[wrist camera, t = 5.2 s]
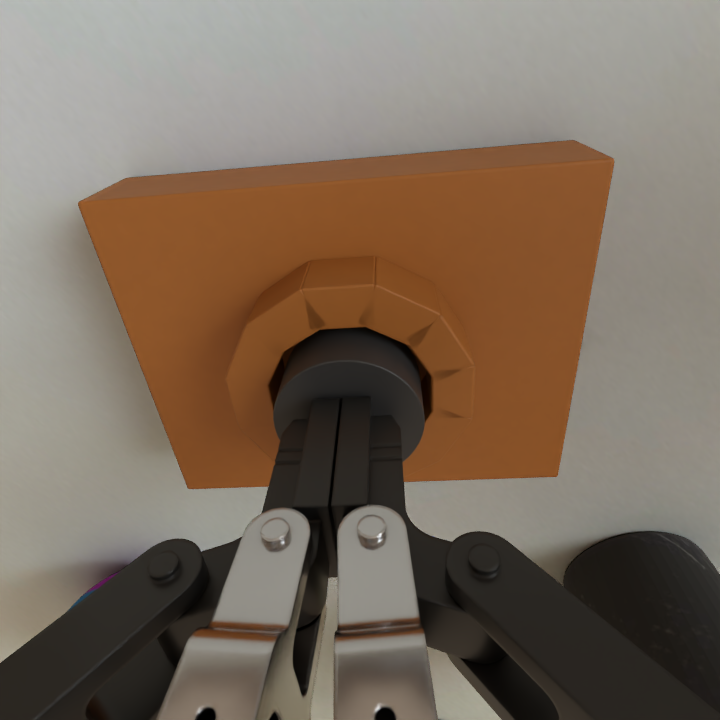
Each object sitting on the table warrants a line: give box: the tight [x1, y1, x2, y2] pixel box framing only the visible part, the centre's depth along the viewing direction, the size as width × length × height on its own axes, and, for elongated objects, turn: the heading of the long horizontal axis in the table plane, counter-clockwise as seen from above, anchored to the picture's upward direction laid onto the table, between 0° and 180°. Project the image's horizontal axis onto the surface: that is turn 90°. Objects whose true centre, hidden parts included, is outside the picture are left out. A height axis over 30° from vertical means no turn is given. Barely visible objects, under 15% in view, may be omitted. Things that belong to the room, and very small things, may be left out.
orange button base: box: [78, 140, 614, 489], centre depth 16 cm, size 14×11×5 cm
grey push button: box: [273, 327, 425, 462], centre depth 14 cm, size 4×4×2 cm
